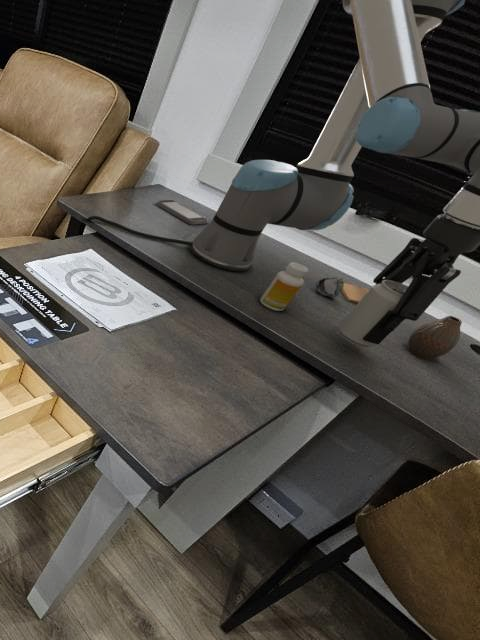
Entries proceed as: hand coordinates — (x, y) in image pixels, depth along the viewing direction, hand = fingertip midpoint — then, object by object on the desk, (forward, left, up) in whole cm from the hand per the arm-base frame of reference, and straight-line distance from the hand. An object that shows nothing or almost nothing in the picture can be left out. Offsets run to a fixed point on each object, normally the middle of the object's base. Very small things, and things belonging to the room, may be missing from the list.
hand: (363, 330), depth 91 cm
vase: (+17, +7, -5) cm, 19 cm away
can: (0, 0, -2) cm, 2 cm away
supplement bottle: (-14, +10, -5) cm, 18 cm away
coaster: (+12, +30, -4) cm, 32 cm away
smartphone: (-33, +57, -4) cm, 66 cm away
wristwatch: (+1, +25, -5) cm, 25 cm away
